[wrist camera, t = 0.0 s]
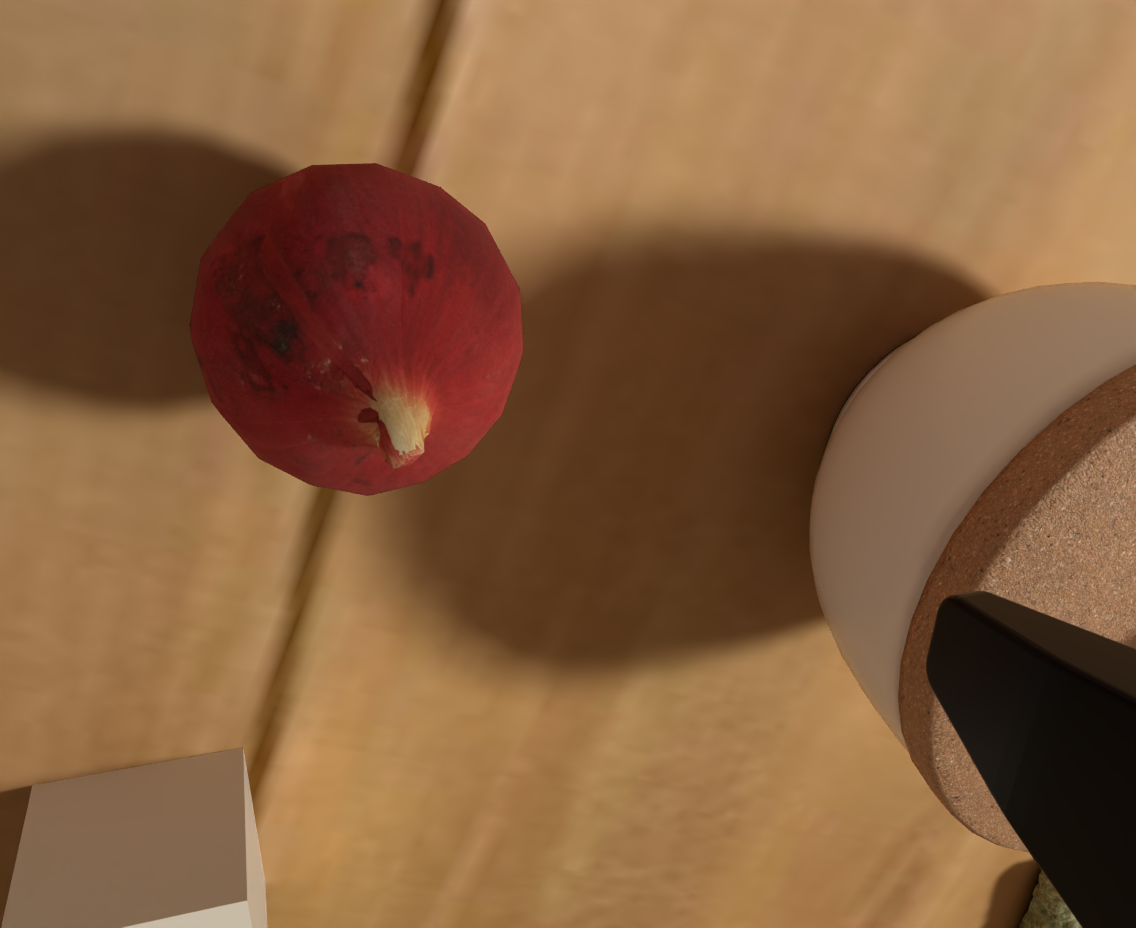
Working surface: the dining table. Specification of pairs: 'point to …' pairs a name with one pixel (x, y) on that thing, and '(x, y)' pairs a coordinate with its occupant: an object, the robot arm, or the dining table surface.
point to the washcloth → (1048, 908)
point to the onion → (357, 327)
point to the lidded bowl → (980, 501)
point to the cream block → (142, 850)
